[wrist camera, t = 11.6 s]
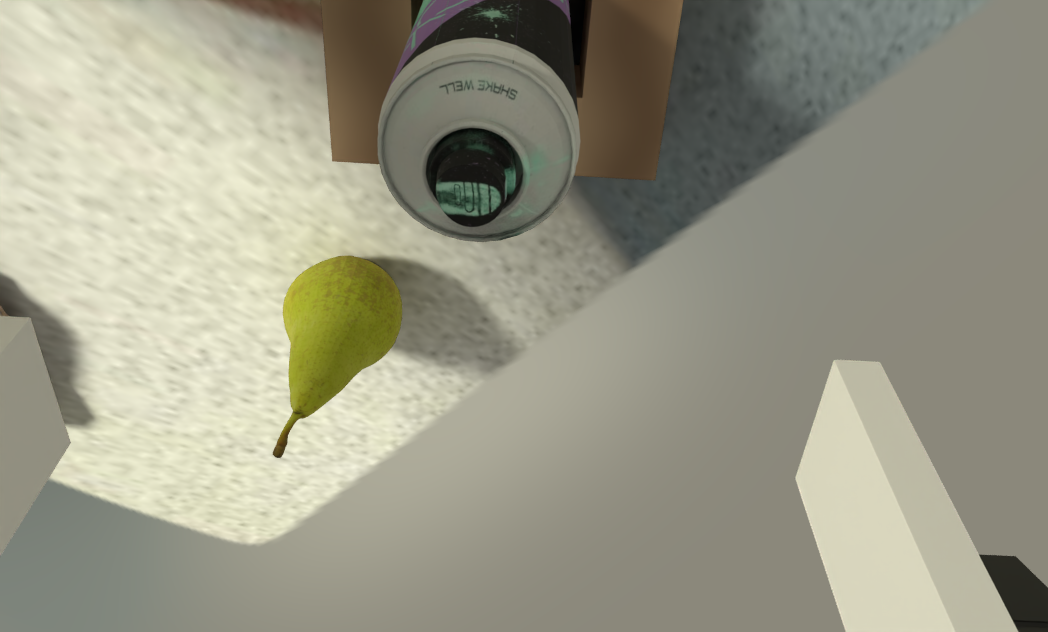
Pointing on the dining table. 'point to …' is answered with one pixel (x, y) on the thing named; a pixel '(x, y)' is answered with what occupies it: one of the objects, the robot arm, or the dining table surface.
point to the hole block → (601, 77)
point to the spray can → (482, 117)
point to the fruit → (336, 330)
